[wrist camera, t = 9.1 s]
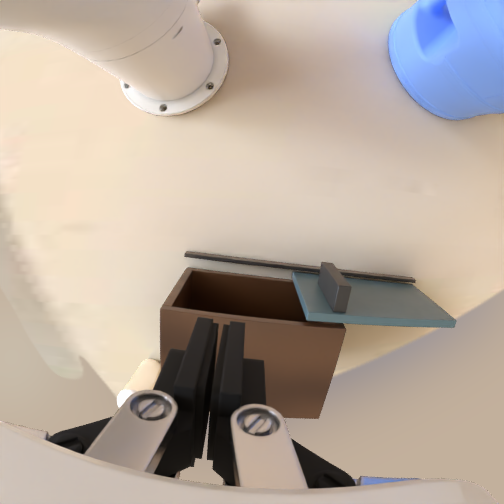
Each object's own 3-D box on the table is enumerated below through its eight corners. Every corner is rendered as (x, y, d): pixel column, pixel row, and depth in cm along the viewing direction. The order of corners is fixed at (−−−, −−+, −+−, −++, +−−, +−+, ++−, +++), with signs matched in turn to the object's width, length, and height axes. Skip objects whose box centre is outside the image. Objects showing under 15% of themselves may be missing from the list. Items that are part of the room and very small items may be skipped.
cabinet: (186, 251, 36) (157, 286, 25) (412, 277, 37) (461, 315, 25) (181, 345, 39) (160, 403, 28) (386, 361, 40) (419, 413, 28)
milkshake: (173, 358, 39) (154, 406, 30) (163, 385, 41) (145, 434, 31) (141, 344, 39) (115, 390, 29) (134, 372, 40) (109, 418, 31)
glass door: (296, 250, 35) (313, 284, 25) (416, 265, 36) (464, 297, 25) (291, 278, 36) (306, 320, 26) (410, 290, 36) (454, 327, 26)
